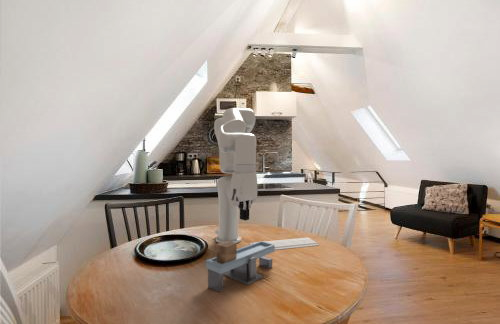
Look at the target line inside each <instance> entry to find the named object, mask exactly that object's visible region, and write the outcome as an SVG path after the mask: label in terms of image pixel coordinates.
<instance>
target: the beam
mask: <svg viewBox="0 0 500 324" xmlns="http://www.w3.org/2000/svg"><path fill="white" fill-rule="evenodd" d="M253 243H254V242H253ZM275 251H276V250H275V245H273V244H271V243H267V242H265V240H263V241H262V240H261V241H257V243H254V244H251V245H250V244H248V245H245V246H243V247H240V248H237V253H236V259H234V260H231V261H229V262H226V263H223V264H221V263H218V262H217V256H215V257H212V258H209V259H206V260H205V268H206V269H207V270H208V269H209V270H212V271H214V272H217V273H219V274H222V273H224V272H227V271H229V270H231V269H234V268H236V267H239V266H241V265H243V264H246V263H248V262H249V259H250V258H252V257H256V260H257V259H258V260H259V258H260V257H263V256H265V257H266V256H267V255H270V254H272V253H274V252H275Z"/></svg>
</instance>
